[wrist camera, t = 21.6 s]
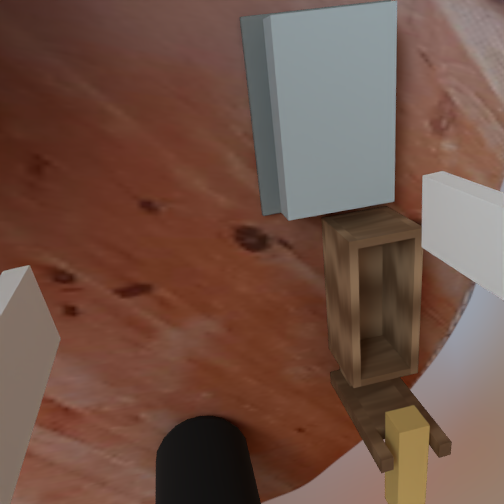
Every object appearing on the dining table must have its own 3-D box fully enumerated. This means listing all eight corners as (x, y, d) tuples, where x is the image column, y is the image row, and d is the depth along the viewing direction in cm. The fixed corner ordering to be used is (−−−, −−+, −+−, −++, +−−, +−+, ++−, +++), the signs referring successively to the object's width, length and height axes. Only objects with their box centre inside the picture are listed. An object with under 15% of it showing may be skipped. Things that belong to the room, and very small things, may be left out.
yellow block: (385, 412, 42) (399, 433, 39) (414, 405, 42) (429, 425, 40) (384, 497, 46) (397, 521, 44) (410, 490, 47) (424, 513, 44)
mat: (239, 17, 35) (240, 16, 35) (387, 1, 37) (390, -1, 37) (262, 213, 42) (263, 215, 42) (386, 191, 44) (389, 193, 43)
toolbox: (321, 217, 43) (381, 270, 32) (386, 206, 44) (468, 252, 33) (330, 382, 52) (381, 473, 40) (385, 369, 53) (450, 454, 41)
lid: (258, 21, 35) (270, 15, 32) (373, 8, 37) (397, 0, 33) (277, 208, 42) (288, 220, 38) (374, 190, 43) (394, 201, 39)
